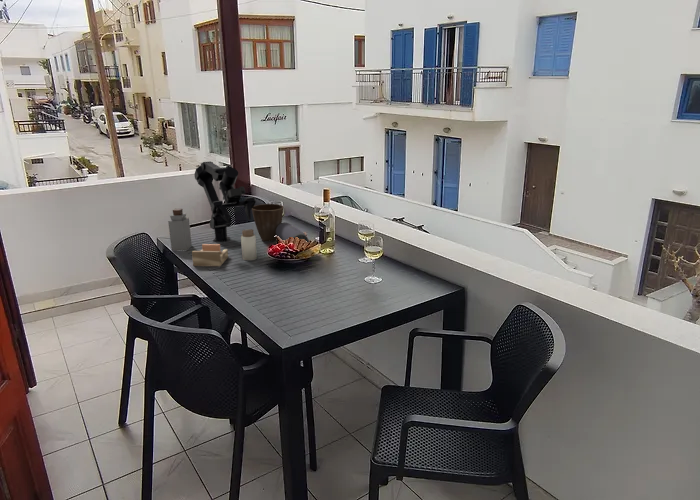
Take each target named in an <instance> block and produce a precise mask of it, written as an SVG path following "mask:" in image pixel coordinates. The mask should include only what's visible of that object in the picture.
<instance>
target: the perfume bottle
mask: <svg viewBox="0 0 700 500" xmlns="http://www.w3.org/2000/svg"><path fill="white" fill-rule="evenodd" d="M183 209H184V208H174V209H172V214H170V215H169V218H170V219H169V220H168V221H167V222H168V230H169V239H170V248H171V251H177V250H180V251H181V250H182V251H183V250H184V251H188V250H189V249H191V248H192V247H193V246H192V245H193V243H192V242H193V241H192V237H191V225H190V224H191V223H190V218H189V217H187V212H183Z"/></svg>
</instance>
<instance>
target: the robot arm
mask: <svg viewBox="0 0 700 500" xmlns="http://www.w3.org/2000/svg"><path fill="white" fill-rule="evenodd" d="M238 176H239V172H238V170H237V169H236V168H234V167H232V166H231V165H226V166H223V167H221V166H219V165H217V164H215V163H214V162H213V161H203V162H201V163H200V165H199V166H198V167H197V168H196V169H195V170H194V179H195V181H196V182H197V184H198V185H199V186H200V187H202V188H203V190H204V192H205V195H206V196H205V197H206V198H207V201H208V203H209V205H210V211H211V217H210V220H209V227H210V229H212V230H213V231H214V239H212V241H213V242H227V241H229V239H230V238H231V237H230V236H228V228H230V227H231V223H232V216H231V215H230V212H229V211H228V209H229V208H236V207H237V208H239V207H243V208H244V213H245V215H246V217H247V219H248V221H251V212H252V208H253V207H254V206H256V202H257V201H256V198H255V197H253V196H250V197H249V196H248V197H244V200H243V201H240V200H241V199H242V198H241V197H242V196H243V195H245V194H246V189H245V187H244V186H239V187H237V188H235V187H234V185H236V182H237V179H238ZM214 181H215V182H219V184H218V188H219V190H220V191H221V194H222V200H220V199H219V196H218V194H217V191H216V189H215V185H214V184H213V182H214ZM223 200H224V202H225V203H224V202H223Z"/></svg>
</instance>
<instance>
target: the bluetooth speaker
mask: <svg viewBox="0 0 700 500" xmlns="http://www.w3.org/2000/svg"><path fill="white" fill-rule="evenodd" d="M276 235H277V236H279V237H280V238H281V239H282V240H286V239H288V238H289V237H293V238H295V237H298V238H299V239H305V240H306V241H307V242H309V243H310V240H309V238H308V236H307V235H306V234H305V233H304V232H303V231H302V230H300V229H298V228H297V227H296V226H295V225H292V224H291V223H289V222H282V223H280V224H279V225H278V226H277V228H276Z"/></svg>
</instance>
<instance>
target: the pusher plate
mask: <svg viewBox="0 0 700 500" xmlns="http://www.w3.org/2000/svg"><path fill="white" fill-rule="evenodd" d="M202 249H203V251H220V253H221V252H222V250H221V244H220V243H211V244H210V243H202V244H201V250H202Z"/></svg>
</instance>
